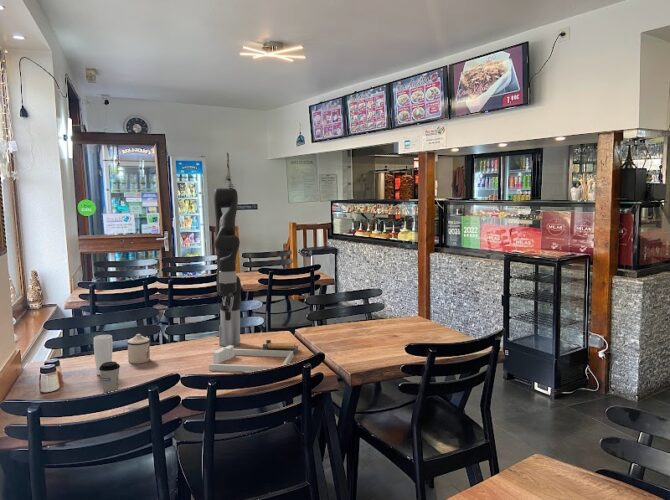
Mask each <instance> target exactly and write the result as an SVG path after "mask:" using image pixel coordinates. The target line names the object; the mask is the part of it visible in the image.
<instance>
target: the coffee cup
mask: <svg viewBox="0 0 670 500" xmlns="http://www.w3.org/2000/svg"><path fill="white" fill-rule="evenodd" d="M120 368H121V365H120V364H119V363H118V362H116V361H113V360H112V362H105V363H103V364H102V365H101V366H100V367H99V370H100V374H101V375H100V380H101V385H102V391H103V393H106V392H111V391H115V390H117V391H118V385H119V377H120V376H119V375H120ZM115 392H116V391H115ZM111 393H112V392H111ZM106 394H107V393H106Z"/></svg>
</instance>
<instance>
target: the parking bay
mask: <svg viewBox="0 0 670 500" xmlns="http://www.w3.org/2000/svg"><path fill="white" fill-rule="evenodd" d="M234 356H253V357H272V358H273V357H276V358H279V357H280V358H285V359H284V361H283V362H282V365H285V364H288V363H289V364H290V363H291V361H292V360H293V358H294V355H293V351H279V350H261V349H256V348H255V349H250V348H234ZM282 365H281V366H282ZM273 367H276V366H274V365H273V366H272V365H269V366H268V365H251V364H250V365H249V364H248V365H247V364H231V363H230V364H228V363H225V364H224V363H219V364H213V363H209V364H208V370H209V371H211V372H212V371H213V372H214V371H215V372H219V371H220V372H231V371H258V370H263V369H269V368H273Z"/></svg>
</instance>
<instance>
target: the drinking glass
mask: <svg viewBox="0 0 670 500" xmlns="http://www.w3.org/2000/svg"><path fill="white" fill-rule="evenodd" d="M113 344H114V343H113V335H111V334H100V335H98V334H97V335H96V336H94V337H93V353H94V360H95V367H96V374H97V375H98V376H101V374H100V370H99V367H100V366H101V365H102V364H103V363H105V362H112V361H113V360H112V359H113Z"/></svg>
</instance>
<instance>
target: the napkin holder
mask: <svg viewBox="0 0 670 500" xmlns="http://www.w3.org/2000/svg"><path fill="white" fill-rule="evenodd" d="M234 349H235V346H231V345H229V346H223V347H221V348H219V349H217V350H215V351H213V353H212V355H213V358H212V359H213V360H212V361H213V363H212V364H222V363H223V362H224V361H228V360H231V359H232V358H234V357H235V355H234Z"/></svg>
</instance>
